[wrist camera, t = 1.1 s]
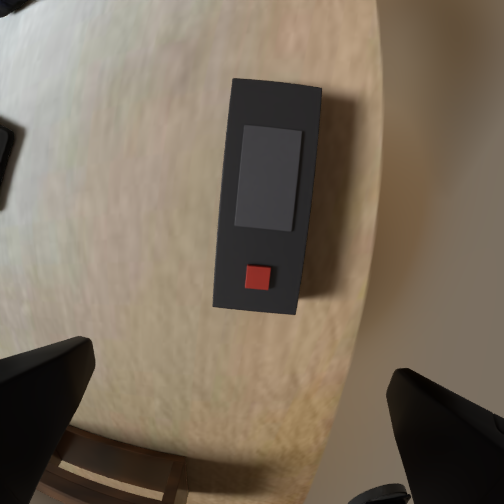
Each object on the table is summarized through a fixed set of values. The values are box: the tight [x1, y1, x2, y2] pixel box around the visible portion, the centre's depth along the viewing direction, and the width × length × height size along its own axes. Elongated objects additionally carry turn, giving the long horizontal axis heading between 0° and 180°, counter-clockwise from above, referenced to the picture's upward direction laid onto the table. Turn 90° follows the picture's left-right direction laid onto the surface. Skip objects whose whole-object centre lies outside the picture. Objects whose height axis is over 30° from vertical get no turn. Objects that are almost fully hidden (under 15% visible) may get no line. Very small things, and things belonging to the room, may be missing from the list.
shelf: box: [36, 425, 189, 504], centre depth 19 cm, size 16×7×8 cm, turn 84°
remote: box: [213, 78, 322, 315], centre depth 16 cm, size 12×4×2 cm, turn 174°
